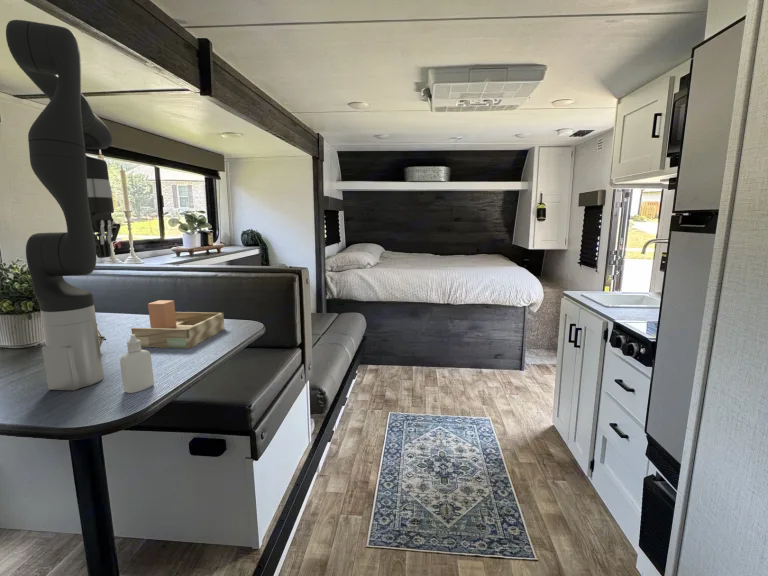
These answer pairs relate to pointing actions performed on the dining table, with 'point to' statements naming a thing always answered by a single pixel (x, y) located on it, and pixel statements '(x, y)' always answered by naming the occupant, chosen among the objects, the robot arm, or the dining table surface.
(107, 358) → the dining table surface
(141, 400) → the dining table surface
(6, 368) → the dining table surface
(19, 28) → the robot arm
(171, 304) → the terracotta block
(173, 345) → the wooden tray
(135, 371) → the eye dropper bottle
